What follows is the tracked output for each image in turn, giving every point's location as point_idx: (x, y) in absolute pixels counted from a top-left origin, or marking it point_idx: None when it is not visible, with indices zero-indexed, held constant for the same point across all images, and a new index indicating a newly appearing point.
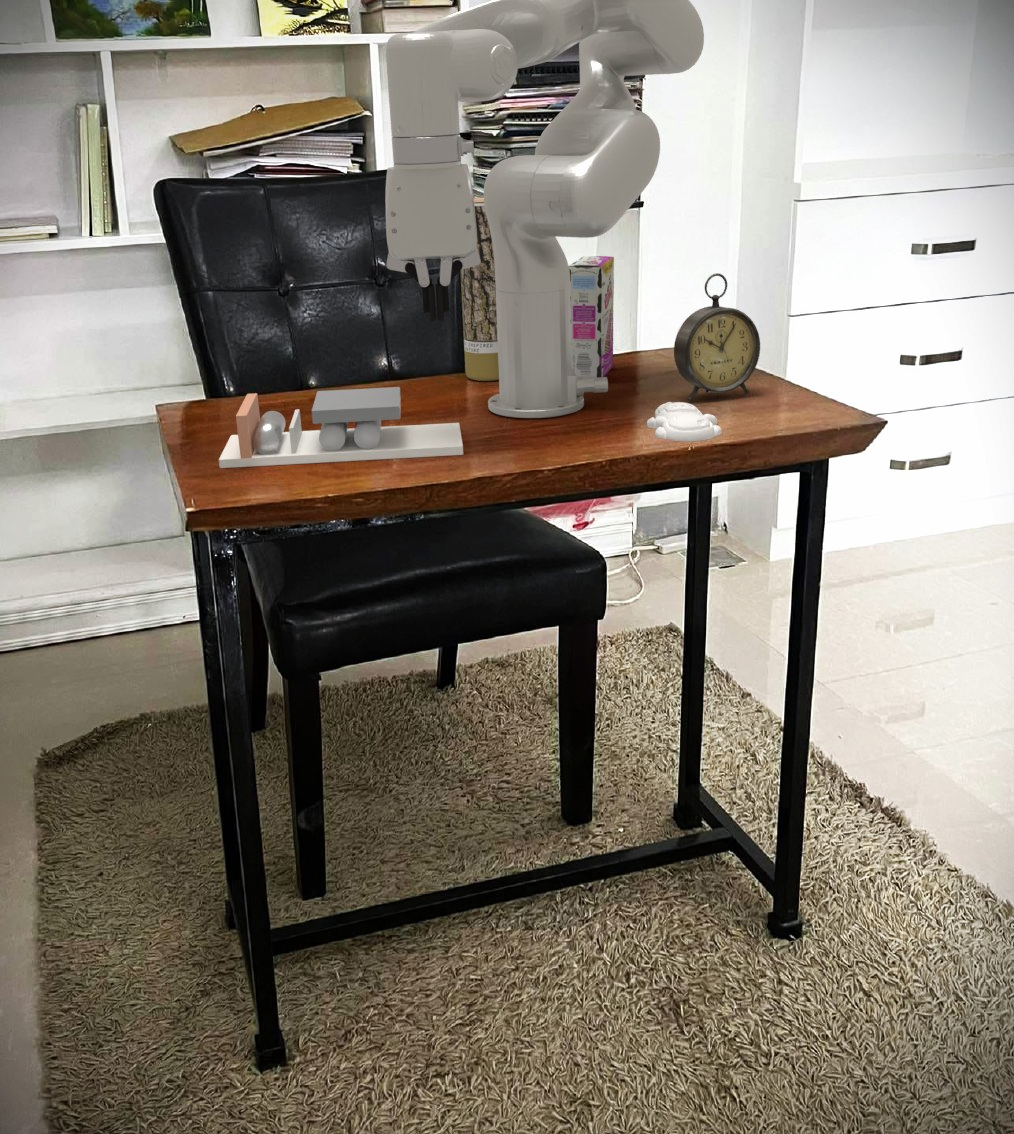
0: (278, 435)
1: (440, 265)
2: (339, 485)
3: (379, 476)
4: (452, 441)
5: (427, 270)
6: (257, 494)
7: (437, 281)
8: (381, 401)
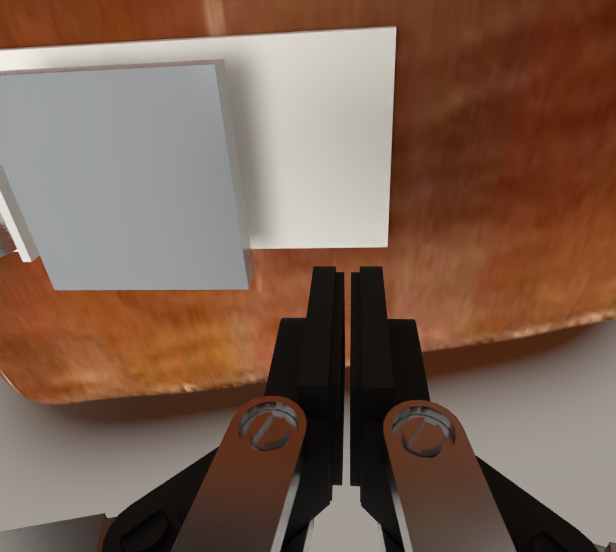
0: (4, 240)
1: (403, 539)
2: (188, 354)
3: (241, 327)
4: (368, 208)
5: (292, 503)
6: (82, 369)
7: (363, 503)
8: (195, 238)
